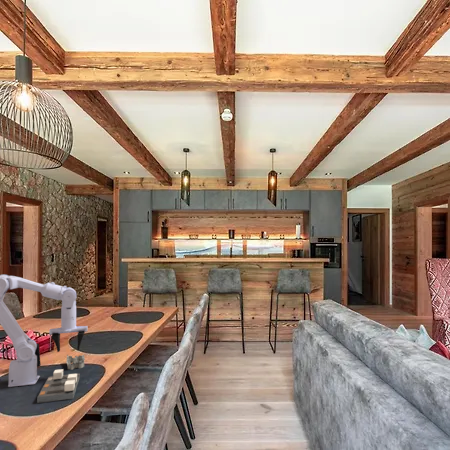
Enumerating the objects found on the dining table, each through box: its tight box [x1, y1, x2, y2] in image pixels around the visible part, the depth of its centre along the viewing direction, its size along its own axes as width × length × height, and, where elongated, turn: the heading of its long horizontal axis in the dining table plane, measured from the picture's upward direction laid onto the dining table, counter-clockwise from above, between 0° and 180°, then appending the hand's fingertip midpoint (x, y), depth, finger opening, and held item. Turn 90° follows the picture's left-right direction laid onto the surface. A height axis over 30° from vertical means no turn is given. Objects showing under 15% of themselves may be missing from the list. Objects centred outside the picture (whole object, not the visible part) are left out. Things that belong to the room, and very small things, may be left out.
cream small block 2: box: [64, 380, 75, 392], centre depth 128 cm, size 3×4×2 cm
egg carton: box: [66, 354, 86, 371], centre depth 159 cm, size 11×8×4 cm
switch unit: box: [36, 373, 81, 404], centre depth 133 cm, size 12×19×2 cm, turn 16°
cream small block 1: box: [67, 373, 78, 383], centre depth 134 cm, size 3×4×2 cm
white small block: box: [52, 368, 64, 379], centre depth 139 cm, size 3×4×2 cm
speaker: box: [35, 343, 42, 367], centre depth 156 cm, size 8×6×10 cm
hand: (68, 350), depth 147 cm, fingers open, 7 cm apart
